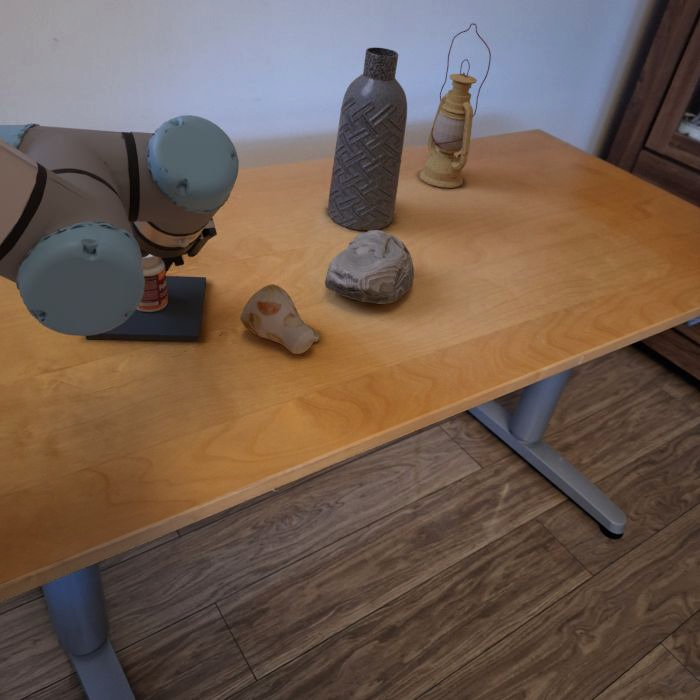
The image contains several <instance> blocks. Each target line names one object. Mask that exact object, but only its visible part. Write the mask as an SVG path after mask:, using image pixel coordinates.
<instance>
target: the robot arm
mask: <svg viewBox="0 0 700 700" xmlns="http://www.w3.org/2000/svg"><path fill="white" fill-rule="evenodd" d="M239 163H240V160H239V157H238V153H237V150H236V147H235V145H234V143H233V142H232V140H231V138H230V137H229V135H228V134H227V133H226V132H225V131H224V130H223V129H222V128H221V127H220V126H219V125H218V124H216V123H214V122H213V121H211V120H209V119H208V118H204V117H202V116H197V115H189V114H185V115H179V116H176V117H173V118H170V119H168V120H167V121H165V122H163V123H162V124H161V125H160V126H159V127H158V128H156V129H155V131H154V132H142V131H113V130H102V129H101V130H100V129H89V128H88V129H87V128H75V127H74V128H73V127H60V126H50V125H49V126H47V125H40V124H39V123H27V124H0V277H2V278H4V279H6V280H9V281H10V282H13V283H15V285H16V289H17V290H18V291H19V296H20V298H21V299H22V302H23V304H24V306H25V308H26V309H27V311H28V312H29V314H30V315H31V316H32V317H33V318H34V319H35V320H36V321H38V323H39V324H41V326H43V327H45V328H47V329H48V330H50V331H51V330H52V331H53V332H56V333H59V334H64V335H67V336H74V337H75V336H78V337H86V336H89V335H96V334H100V333H104V332H106V331H109V330H111V329H114V328H116V327H117V326H119V325H120V324H122V323H123V322H125V321H126V320H127V319H128V318H129V317H130V316H131V315H132V314H133V313H134V311H135V310H136V309H137V308H138V306H139V304H140V302H141V300H142V297H143V293H144V287H145V279H144V273H143V267H142V257H147V256H148V255H149V254H150V255H153V256H156V257H161V259H162V260H163V261H164V264H165V271H166V274H167V272H169V270H170V268H171V267H172V266H173V264H174V266H175V267H181V266H183V265H185V260H184V258H183V256H185V255H186V256H187V257H188V258H194V257H196V256H198V255H199V253H200V252H201V251H202V249H203V248H204V246H205V245H206V244H207V243H208V241H209V240H211V239H212V238H214V237H216V236H217V235H218V232H217V229H216V226H215V221H214V218H213V217H214V216H215V215H216V214H217V212H218V211H219V210H220V209H221V208H222V207H223V206H224V205H225V204H226V202H228V199H229V198H230V196H231V193H232V191H233V189H234V187H235V184H236V181H237V178H238V175H239V167H240V166H239Z"/></svg>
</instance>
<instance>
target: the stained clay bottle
mask: <svg viewBox="0 0 700 700" xmlns="http://www.w3.org/2000/svg"><path fill="white" fill-rule="evenodd" d="M240 321H241V322H242V324H243V326H244V327H245V328H246V329H247V330H248V331H250V332H251V333H252V334H254V335H256V336H257V337H260V338H263V339H265V340H269V341H273V342H276V343H278V344H280V345H282V346H283V347H285V348H286V349H287V350H288V351H289V352H291V353H292V354H294V355H300V354H303V353H305V352H306V351H308V350H309V349H310V348H311V347H312V345H313V344H314V343H317V342H318V341H319V339H320V334H319V333H318V332H317V329H315V328H313V327H311V326H310V325H309V324H307V323H305V321H304V320H303V319H302V318H301V316H300V313H299V312H298V309H297V308H296V305H295V304H294V301H293V300H292V297H291V296H290V295H289V293H288V292H287V291H286V290H285V289H284V288H282V287H281V286H279V285H278V284H274V283H271V284H267V285H265V286H264V287H261V288H260V289H258V290H257V291H256V292H255V293H254V294H253V295H252V296H251V297H250V298H249V299H248V301H247V302H246V304H245V306H244V307H243V310H242V312H241V314H240Z"/></svg>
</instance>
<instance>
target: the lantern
mask: <svg viewBox="0 0 700 700" xmlns="http://www.w3.org/2000/svg"><path fill="white" fill-rule="evenodd" d="M472 26H475V33H476V35H477V37H479V39H480V40H481V41H482V42H483V44H484V45H485V47H486V48H487V50H488V54H489V61H488V66H487V70H486V74H485V76H484V79H483V80H482V82H481V84H480V86H479V88H478V93H477V96H476V102H475V109H474V110H473V106H472V103H471V98H472V94H471V93H470V89H472V85H473V84H476V83H477V82H478V80H477V78H475V77H474V76H471V75H469V72H470V69H471V65H470V61H469V60H468V59H467V58H465V59H463V60H462V62H461V64H460V70H459V73H451V74H449V79H450V80H451V85H452V88H451V89H449V90H448V91H447V92H446V93H445V94H444V95H443V96H442V91H443V89H444V87H445V85H446V82H447V80H448V79H447V78H448V71H449V65H450V64H449V62H450V55H451V51H452V47H453V43H454V40H455V38H457V36H459V35H461V34H463V33H466V32H469V30H470V29H471V27H472ZM491 53H492V52H491V50H490V48H489V46H488V44H487V43H486V41H485V40H484V39H483V38H482V37H481V36H480V34H479V33H478V26H477V24H476V23H475V22H474V23H470V25H469V26H468V28H467V29H466V30H463V31H460V32H459V33H457V34H456V35H454V37H453V38H452V40H451V44H450V47H449V51H448V54H447V66H446V67H447V68H446V72H445V78H444V79H445V80H444V82H443V84H442V87H441V89H440V92H439V104H438V107H437V111H436V113H435V116H434V120H433V121H432V126H431V129H430V131H429V132H430V133H429V136H428V140H427V141H428V142H427V149H428V152H429V154H430V157H429V158H428V159H427V160H426V161H425V164H424V169H422V170H421V171H420V172H419V178H420V180H421V181H422V182H424V183H426V184H428V185H430V186H433V187H437V188H446V189H451V188H452V189H454V188H458V187H460V186H462V185H463V182H464V181H463V177H462V171H463V169H464V168H465V167H466V165H467V163H468V160H469V159H468V158H469V151H470V144H471V136H472V128H473V127H472V126H473V120H474V119H473V117H475V115H476V112H477V108H478V102H479V101H478V100H479V95H480V93H481V88H482V86H483V84H484V83H485V81H486V79H487V77H488V74H489V72H490V71H489V70H490V66H491V60H492V54H491ZM465 61H467V63H468V70H467V72H462V68H463V64H464V62H465ZM459 152H460V153H459ZM456 153H459V154H458V155H455V154H456Z"/></svg>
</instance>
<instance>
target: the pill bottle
mask: <svg viewBox="0 0 700 700" xmlns="http://www.w3.org/2000/svg"><path fill="white" fill-rule="evenodd" d="M142 267H143V273H144V279H145V287H144V293H143V297H142V300H141V302H140V304H139V306H138V308H137V310H139V311H143V312H156V311H159V310H161V309H163V308H164V307H165V306H166V305H167V303H168V296H167V282H166V276H167V275H166V274H167V273H166V271H165V264H164V261H163V260H162V259H161V257H156V256H153V255H150V254H149V255H148V256H147V257H142Z"/></svg>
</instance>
